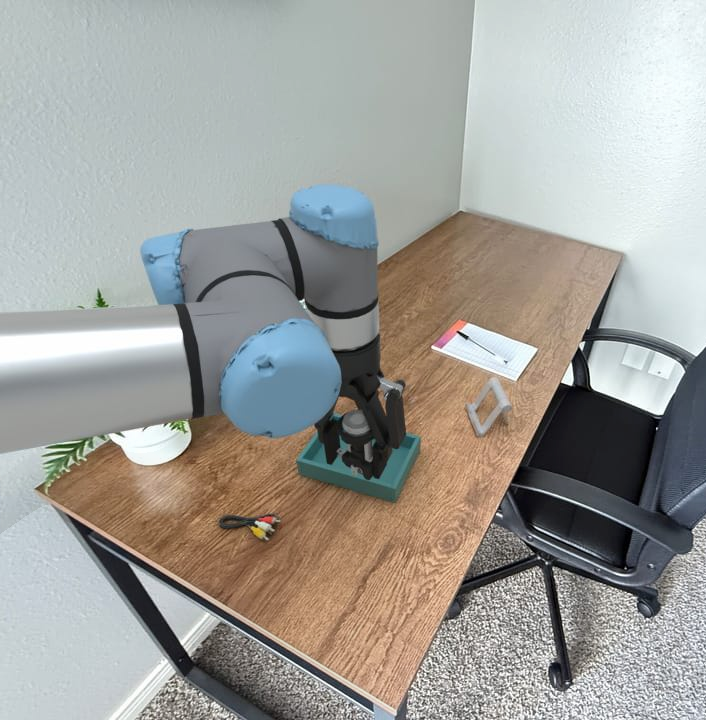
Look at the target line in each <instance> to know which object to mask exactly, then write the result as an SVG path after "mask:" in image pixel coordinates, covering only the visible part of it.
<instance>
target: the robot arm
mask: <svg viewBox="0 0 706 720" xmlns="http://www.w3.org/2000/svg"><path fill="white" fill-rule="evenodd" d="M289 204H290V205H289V206H290V208H289V211H288V215H289V216H287V217H279V218H277V219H275V220H269V221H259V222H251V223H243V224H233V225H224V226H217V227H208V228H199V229H193V228H186V229H183V230H181V231H177V232H172V233H167V234H162V235H157V236H152V237H148V238H147V239H145V240H144V241H143V242H142V243H141V246H140V251H139V252H140V257H141V260H142V264H143V266H144V269H145V272H146V276H147V278H148V279H147V280H148V282H149V284H150V287H151V291H152V292H153V295H154V298H155V301H156V303H157V304H148V305H126V306H111V307H110V306H109V307H108V306H107V307H106V306H105V307H89V308H88V307H85V308H66V309H46V310H43V309H42V310H25V311H6V312H2V311H1V312H0V455H2V454H8V453H13V452H19V451H23V450H29V449H33V448H34V449H35V448H40V447H46V446H52V445H57V444H62V443H68V442H73V441H78V440H79V441H80V440H84V439H90V438H95V437H101V436H105V435H106V436H107V435H112V434H117V433H122V432H127V431H133V430H138V429H143V428H149V427H154V426H155V427H156V426H159V425H160V426H161V425H166V424H170V423H177V422H181V421H188V420H194V419H199V418H205V417H212V416H219V415H223V414H224V415H226V417H227V419H229V421H230V422H231V423H232V424H233V425H234V427H235V428H237V429H238V430H239V431H240V432H242V433H244V434H247V435H250V436H253V437H257V436H258V437H267V438H269V439H279V438H287V437H290V436H293V435H296V434H298V433H301V432H303V431H306V430H307V429H308V428H311V427H312V426H314V427H313V428H315V430H316V432H318V438H319V441H320V443H323V444H324V448H325V455H326V462H327V464H330V465H332V464H333V462H334V461H335V459H336V458H337V455H338V454H339V453H337V450H338V449H339V448H341V446H340V438H339V434H338V432H337V422H338V421H337V420H336V419H332V420H331V421H330V418H331V417H332V416H333V414H334V413H335V409H336V405H337V403H338V400H339V398H347V399H349V400H352V401H353V402H354V404H355V406H356V409H358V410H362V412H363V414H364V416H365V419H366V421H367V423H368V425H369V427H370V429H371V432H372V434H373V436H374V438H375V440H376V442H375V443H374V445H373V447H372V453H373V471H374V478H376V479H379V478H380V476H381V475H382V473H383V471H384V469H385V467H386V466H387V461H388V460H389V458H390V456H391V454H392V448H394V449H399V447H400V445H401V443H402V442H403V440H404V438H405V436H406V433H407V426H406V417H405V409H404V398H403V394H404V391H405V389H406V386H407V385H406V384H407V383H406V382H405V380H402V379H397V380H396V381H395V382H394V381H392V380H390V379H388V378H385V374H384V372H383V371H382V368H381V354H382V353H381V333H380V329H381V328H380V327H381V326H380V304H379V303H380V302H379V299H380V298H379V277H378V273H379V272H378V270H379V269H378V247H379V246H380V245H379V243H380V242H379V239H378V229H377V218H376V214H375V206H374V204H373V201H372V200H371V199H370V198H369V197H368V196H367V195H365V193H364V192H362V191H360V190H358V189H356V188H352V187H350V186H345V185H341V184H340V185H339V184H315V185H311V186H309V187H308V188H301V189H299V190H297V191H296V192H294V193H293V194H292V196H291V198H290V201H289ZM303 300H304V306H303V305H302V303H301V301H303ZM304 307H305V308H304ZM379 389H380V390H381V391H382V400H383V401H385V404H384V405H385V406H384V407H385V409H384V407H383V405H382V401H381V399H380V397H379V395H380V392H379ZM339 452H341V450H340V451H339Z"/></svg>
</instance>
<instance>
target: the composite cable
mask: <svg viewBox="0 0 706 720" xmlns="http://www.w3.org/2000/svg"><path fill="white" fill-rule="evenodd" d="M227 521H235V522H227ZM217 522H218V525H219V527H220V528H221V529H232V528H237V527H241V526H247V527H248V528H249V529H250V530H251V531H252V532H253V535H254V536H256V537H257V538H258V539H259V540H265V541H266V542H267V541H269V540H270V538H269V537H268V536H267V535H274V533H275V531H276V530H275V529H274V528H273V527H274V526H275V525H277V524H278V523H281V522H282V520H281V519H279V516H278V515H277V514H276V513H272V512H269V513H266V514H262V515H258V516H254V517H246V516H241V515H236V514H227V515H225V514H224V515H223V516H221V517H220V518H219V519H218V521H217Z"/></svg>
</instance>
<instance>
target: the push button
mask: <svg viewBox="0 0 706 720" xmlns="http://www.w3.org/2000/svg"><path fill="white" fill-rule="evenodd" d="M342 415H343V416H341V417H340V419H339V420H338V422H337V432H338V434H339V435H340V436H341V440H342V441H344V442H345V443H346V444H348V447H347V450H346V451H345V450H343V449H341V448H339V449H338V450H337V453H339V454H338V455H337V456H338V457H340V458H341V459H342V462H343V463H344V464H345V465H346V466H347V467H349V468H351V472H352V473H353V474H354V475H356V476H357V475H358V473H360V474H362V475H363V476H364V478H365V479H366V480H370V479H371V478H372V477H373V476H374V471H373V453H372V440H373V439H374V436H373V434H372V432H371V429H370V427H369V425H368V423H367V421H366V419H365V416H364V414H363V412H362V410H358V408H356V409H351V410H349V411H347V412H345V413H344V414H342ZM343 429H344V430H345V432H344V431H343ZM340 450H342V452H339V451H340ZM340 455H341V456H340ZM353 471H355V472H356V473H354V472H353Z"/></svg>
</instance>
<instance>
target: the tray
mask: <svg viewBox="0 0 706 720" xmlns="http://www.w3.org/2000/svg"><path fill="white" fill-rule="evenodd" d="M333 413H334V414H333V416H332V417H331V418H330V421H331V420H332V419H336V420H337V421H338V420H339V419H340V417H341V416H343V415H344V414H340V413H336V412H333ZM343 431H344V432H345V430H344V429H343ZM339 438H340V446H341V449H343V450H345V451H346V450H347V447H348V444H346V443H345V442H344V441H342V440H341V436H340V435H339ZM421 439H422V436H420V435H416V434H413V433H409V432H406V436H405V438H404V440H403V442H402V443H401V445H400V447H399V449H394V448H392V454H391V456H390V458H389V460H388V461H387V466H386V467H385V469H384V471H383V473H382V475H381V476H380V478H379V479H376V478H374V476H373V477H372V478H371V479H370V480H366V479H365V478H364V476H363V475H362V474H360V473H358V475H357V476H356V475H354V474H353V473H352V472H351V468H349V467H347V466H346V465H345V464H344V463H343V462H342V459H341V458H340V457H338V456H337V458H336V459H335V461H334V462H333V464H332V465H330V464H327V462H326V455H325V448H324V444H323V443H320V441H319V438H318V432H317V431H316V432H315V433H314V435H313V436H312V437H311V439H310V440H309V441H308V443H307V444H306V446H304V448H303V450H302V451H301V452H300V454H299V455H298V457H296V459H295V462H296V468H297V472H298V475H299V476H302V477H306V478H309V479H312V480H316V481H320V482H322V483H326V484H329V485H333V486H336V487H340V488H344V489H347V490H349V491H354V492H357V493H359V494H364V495H367V496H370V497H374V498H377V499H380V500H385V501H387V502H391V503H394V504H396V503H397V501H398V499H399V497H400V494H401V492H402V490H403V488H404V487H405V484H406V482H407V479H408V478H409V475H410V473H411V472H412V469H413V466H414V465H415V463H416V461H417V458H418V457H419V454H420V452H421ZM375 442H376V440H375V438H374V439H373V440H372V447H373V445H374V443H375ZM341 452H342V450H341ZM340 456H341V455H340ZM353 472H354V473H356V472H355V471H353Z"/></svg>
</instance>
